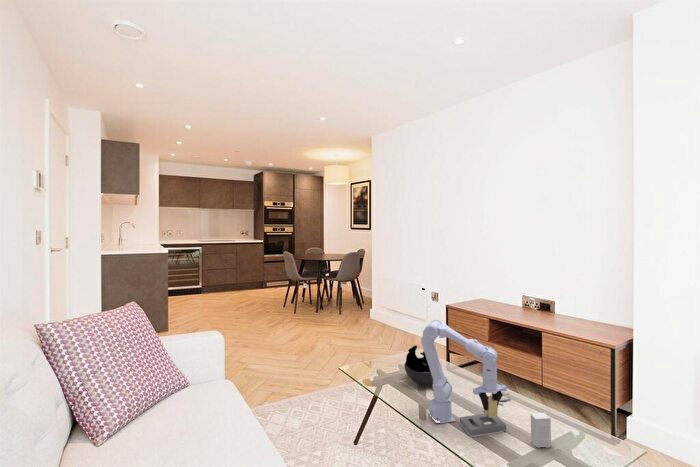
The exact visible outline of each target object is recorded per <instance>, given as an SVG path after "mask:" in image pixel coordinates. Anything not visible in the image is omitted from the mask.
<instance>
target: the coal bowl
mask: <svg viewBox="0 0 700 467" xmlns="http://www.w3.org/2000/svg"><path fill="white" fill-rule="evenodd" d="M417 348H418V345H414V346H412V347H410V348H409V349H408V350H407V351H408V352H407V354H406V356H405V360H406V361H405V363H404V365H403V366H404V370H405V373H406V375H407V377H408V378H409V379H410V380H411V381H413V382H414V383H415V384H419V385H422V386H423V385H430V384H433V378H432V374H431V371H430V368H429V365H428V362H427V359H426V356H425V352H424V350H423V351H422V352H420V353H419V354H420V355H422V357H418V356H417V354H416V351H417Z"/></svg>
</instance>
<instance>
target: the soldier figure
mask: <svg viewBox="0 0 700 467" xmlns="http://www.w3.org/2000/svg"><path fill="white" fill-rule="evenodd" d="M502 393H503V392H502ZM509 395H510V393H509V392H507V393H506V392H505V393H503V396H502V397H503V398H502V397H501V399H500V401H499V404H498V406H502V405H504V403H502V402H507V401H511V400H512V398H511V397H509V398H504V397H505V396H509ZM489 396H492V393H490V394H489Z"/></svg>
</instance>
